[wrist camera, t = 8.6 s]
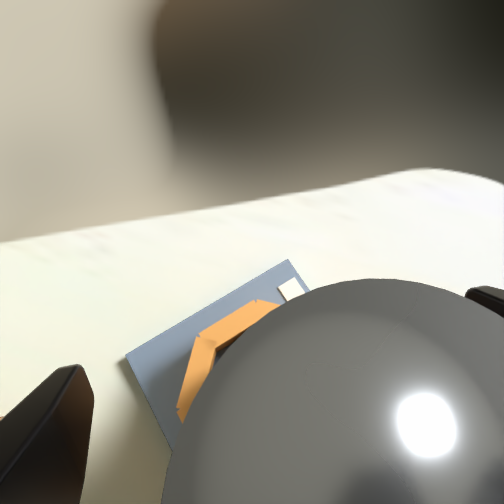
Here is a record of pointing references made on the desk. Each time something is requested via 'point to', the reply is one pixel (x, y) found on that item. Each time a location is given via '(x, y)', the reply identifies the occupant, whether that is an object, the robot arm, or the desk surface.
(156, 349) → the socket plate
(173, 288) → the desk surface
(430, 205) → the desk surface
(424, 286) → the steel peg
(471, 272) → the desk surface
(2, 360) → the desk surface
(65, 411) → the robot arm
